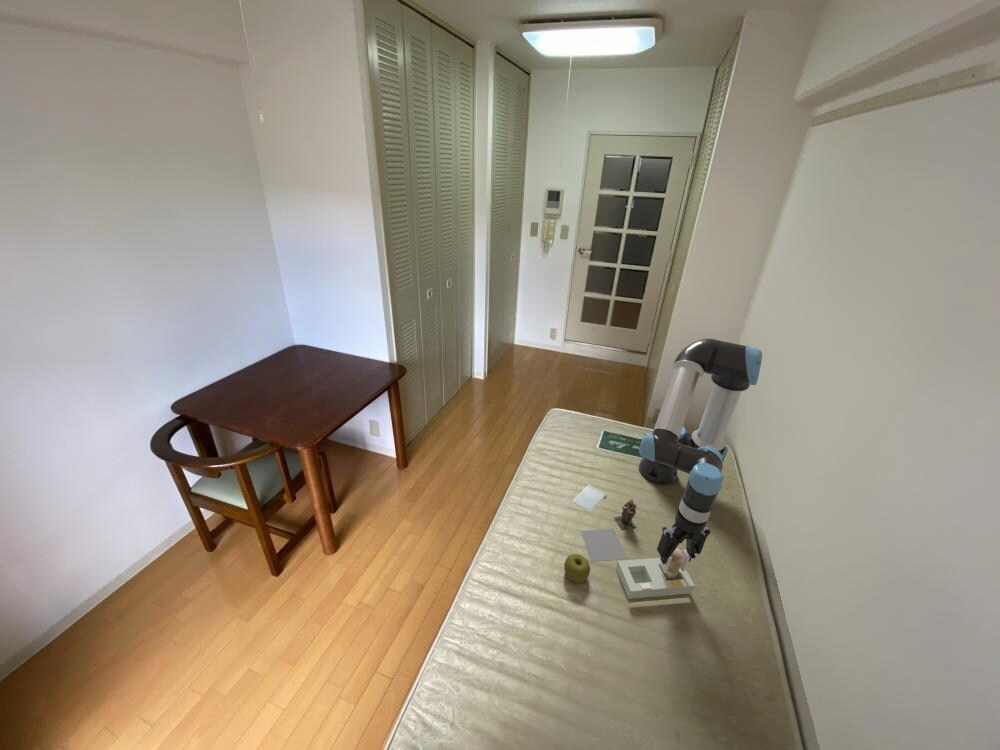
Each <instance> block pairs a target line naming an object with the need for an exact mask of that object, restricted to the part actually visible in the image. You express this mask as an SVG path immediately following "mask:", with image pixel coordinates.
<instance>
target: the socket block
mask: <svg viewBox="0 0 1000 750" xmlns="http://www.w3.org/2000/svg"><path fill="white" fill-rule="evenodd" d="M660 558H661V557H654V558H653V557H652V558H651V557H650V558H640V559H639V558H638V559H622V560H618V561H617V564H616V566H615V569H616V572H617V574H618V577H619V580H620V582H621V584H622V586H623V588H624V592H625V594H626V596H627V598H628V599H627V600H629V599H631V600H632V599H642V598H643V599H644V598H651V597H653V598H654V597H665V596H676V595H688V594H689V596H692V594H693V592H694V590H695V587H696V585H695V583H694V582H693V580H692V578H691V577H690V574H689V573H688V570H685V571H683V572H682V570H681V568H680V569H679V572H678V575H677V578H676V580H669V581H667V580H666V578H665V576H664V574H663V570H662V568H661V566H660V564H661V559H660Z"/></svg>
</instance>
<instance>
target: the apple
mask: <svg viewBox="0 0 1000 750" xmlns="http://www.w3.org/2000/svg"><path fill="white" fill-rule="evenodd" d="M564 571H565V572H564V573H565V576H566V577H567V578H568V579H569V581H571V582H573V583H575V584H579V583H583V582H585V581H586V580H587V579H588V578H589V575H590V572H591V565H590V563H589V561H588V559H587V558H586V557H585V556H583V555H581V554H578V553H572V554H570V555H568V556H567V557H566V558H565V562H564Z"/></svg>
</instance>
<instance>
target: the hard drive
mask: <svg viewBox="0 0 1000 750" xmlns="http://www.w3.org/2000/svg"><path fill="white" fill-rule="evenodd" d="M606 497H607V494H606V493H605V492H602V491H600V490H599V489H597V488H596V487H594V486H592V485H590V484H587V485H586V486H585V487H584V488H583V489H582V490H581V491H580V492H579V493H577V495H576V496H575V498H573V499H572V503H575V504H576V505H578V506H579V507H581V508H582V509H584V510H585V511H586V512H591V510H592V509H594V507H595V506H596V505H597V504H598V503H599V502H600V500H605V498H606Z"/></svg>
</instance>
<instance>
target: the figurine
mask: <svg viewBox="0 0 1000 750" xmlns="http://www.w3.org/2000/svg"><path fill="white" fill-rule="evenodd" d="M634 500H635V499H633V498H630V499H629V500H628V501H626V503H625V504H623V505H621V508H622V512H621V515H620V516H615V517H613V519H614V520H615V523H616V524H617V526H618V528H620V530H621V531H626V530H632V529H636V528H637V527H636V525H635V524H634V522H633V519H634V517H635V515H636V514H637V510H636V509H637V508H638V507H637V506H638V505H637V503H634Z"/></svg>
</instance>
